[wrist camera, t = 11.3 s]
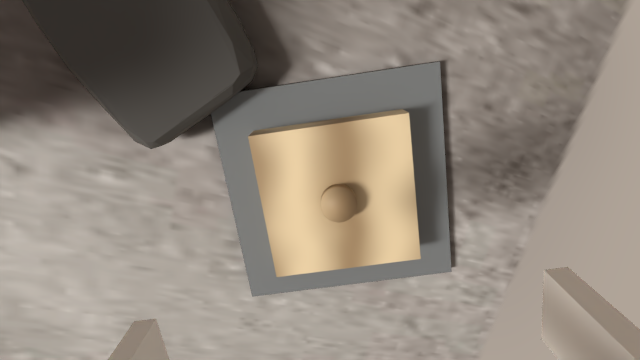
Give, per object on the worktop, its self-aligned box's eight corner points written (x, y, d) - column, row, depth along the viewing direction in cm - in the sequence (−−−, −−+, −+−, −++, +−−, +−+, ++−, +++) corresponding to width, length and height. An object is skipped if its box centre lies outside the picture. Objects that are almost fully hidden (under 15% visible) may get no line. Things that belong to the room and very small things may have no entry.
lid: (279, 262, 30) (274, 284, 27) (253, 130, 27) (245, 139, 24) (413, 245, 30) (424, 265, 27) (402, 108, 27) (412, 115, 24)
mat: (253, 292, 32) (252, 296, 31) (209, 96, 27) (206, 97, 27) (449, 267, 31) (451, 271, 31) (437, 61, 27) (439, 61, 26)
